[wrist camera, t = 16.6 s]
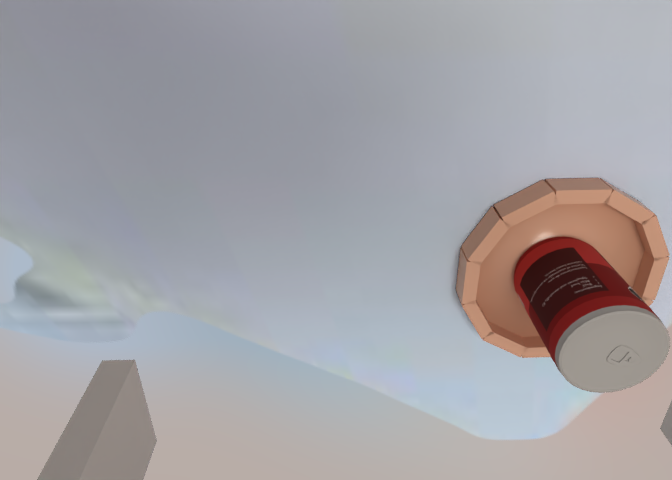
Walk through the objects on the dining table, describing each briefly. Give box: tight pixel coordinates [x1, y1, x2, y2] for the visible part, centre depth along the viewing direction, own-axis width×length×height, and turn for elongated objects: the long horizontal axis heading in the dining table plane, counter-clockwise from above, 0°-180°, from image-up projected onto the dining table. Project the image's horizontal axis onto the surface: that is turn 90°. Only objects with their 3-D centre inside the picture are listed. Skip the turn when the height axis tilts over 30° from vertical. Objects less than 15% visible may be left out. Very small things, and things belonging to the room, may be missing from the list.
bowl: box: [456, 178, 669, 358], centre depth 46 cm, size 17×17×2 cm
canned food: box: [514, 237, 670, 393], centre depth 42 cm, size 8×8×11 cm
